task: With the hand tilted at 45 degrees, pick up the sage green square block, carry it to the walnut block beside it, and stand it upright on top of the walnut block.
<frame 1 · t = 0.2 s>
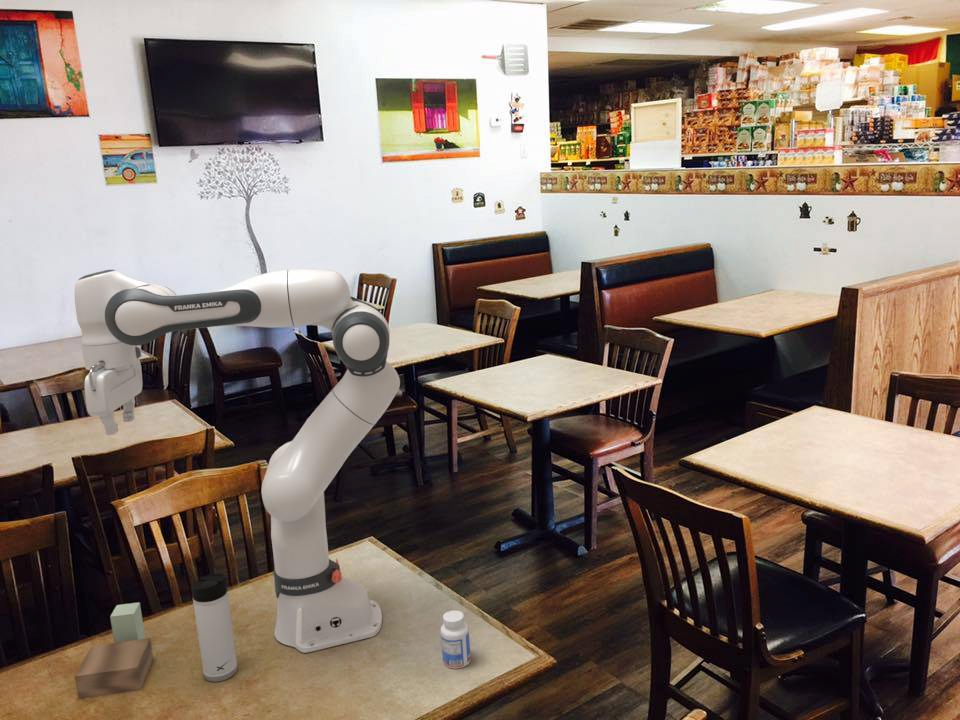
hand: (121, 427, 149), 47 cm above the table, tool pointing down, fingers open, 8 cm apart
pill bottle: (456, 662, 150), on the table
sage block: (131, 648, 160), on the table
travel mug: (221, 673, 150), on the table
walnut block: (117, 679, 150), on the table
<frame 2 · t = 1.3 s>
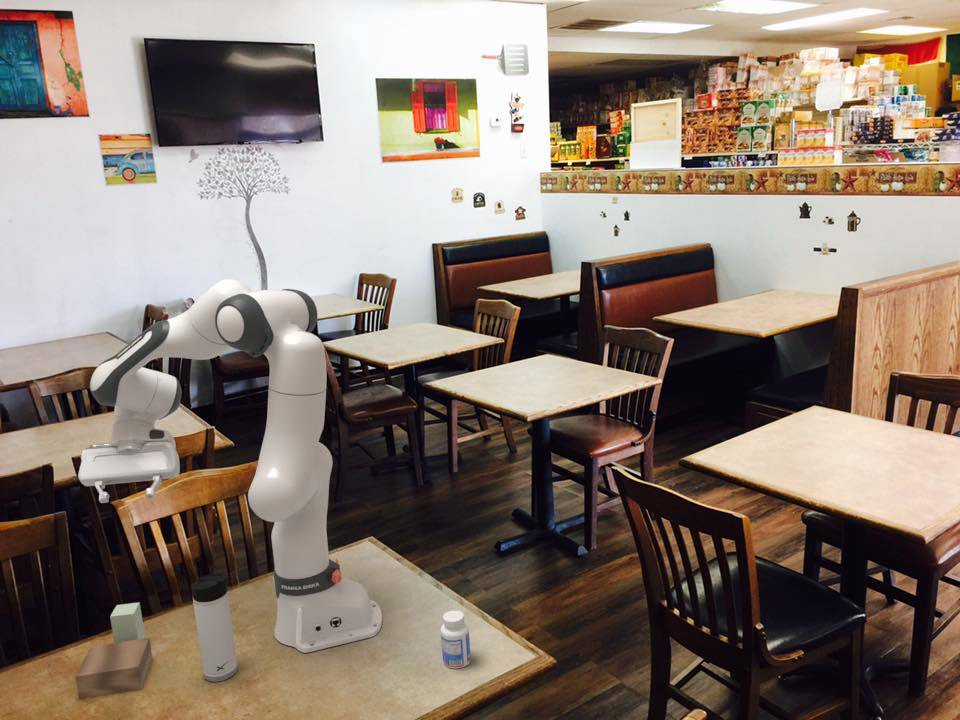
hand: (127, 499, 165), 28 cm above the table, tool tilted 45°, fingers open, 8 cm apart
nothing on the table moved.
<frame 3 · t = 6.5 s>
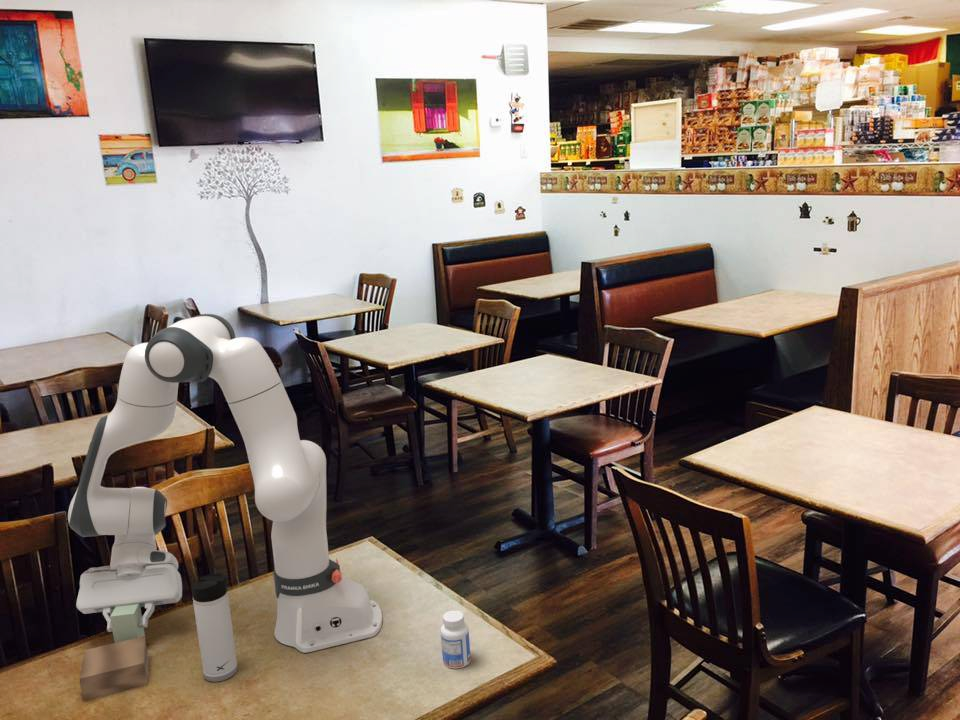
hand: (127, 629, 158), 5 cm above the table, tool tilted 45°, fingers closed on sage block, 4 cm apart
sage block: (131, 648, 160), on the table, touching gripper
when the fingers open (11 cm above the table, at t = 12.6 s): sage block drops 2 cm, point 5 cm above the table.
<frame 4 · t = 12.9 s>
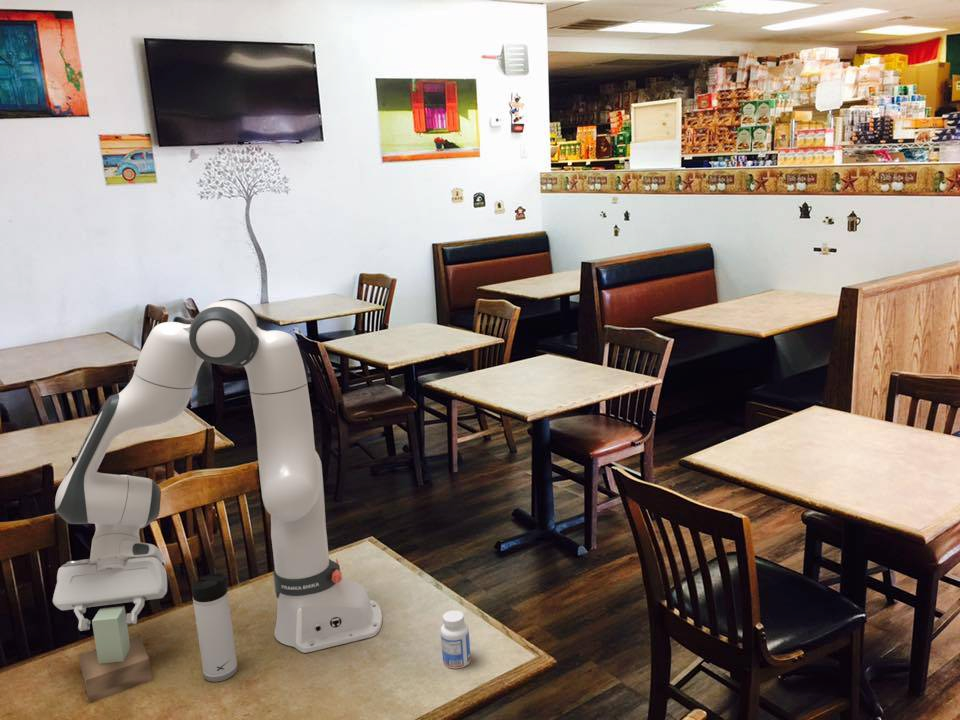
hand: (107, 626, 147), 11 cm above the table, tool tilted 45°, fingers open, 7 cm apart
sage block: (114, 655, 149), point 5 cm above the table
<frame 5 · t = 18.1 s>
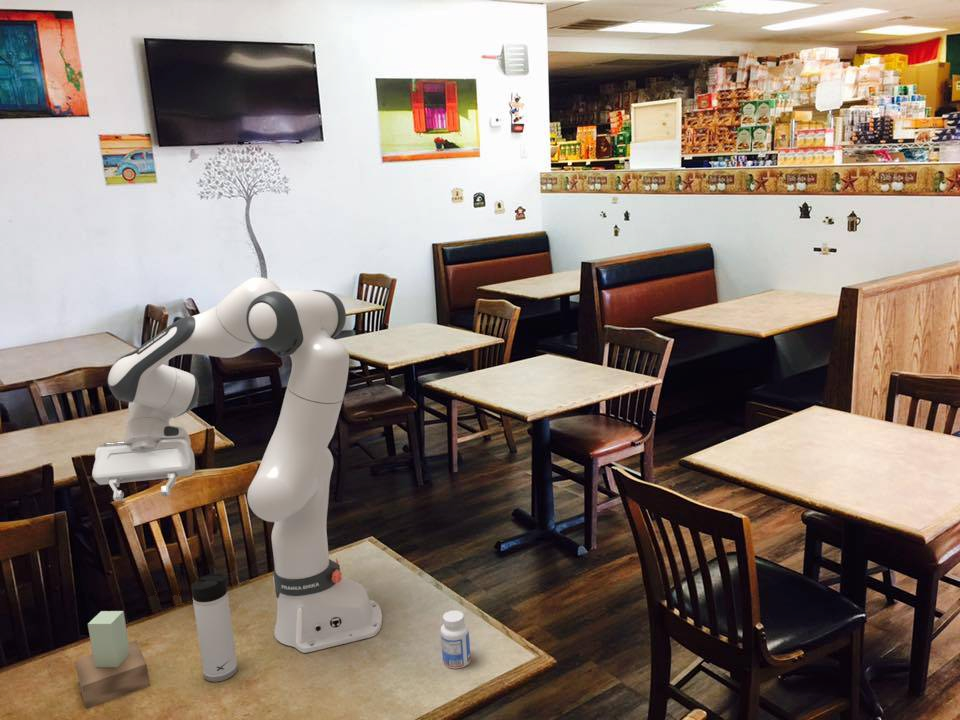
hand: (141, 497, 162), 29 cm above the table, tool tilted 45°, fingers open, 8 cm apart
sage block: (112, 660, 148), point 5 cm above the table
walnut block: (114, 685, 148), on the table
everything else where it was.
at the end: sage block inside the target area on the walnut block (0.6 cm from its centre), point 5.0 cm above the walnut block's base; sage block tilted 0°; the gripper is holding nothing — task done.
